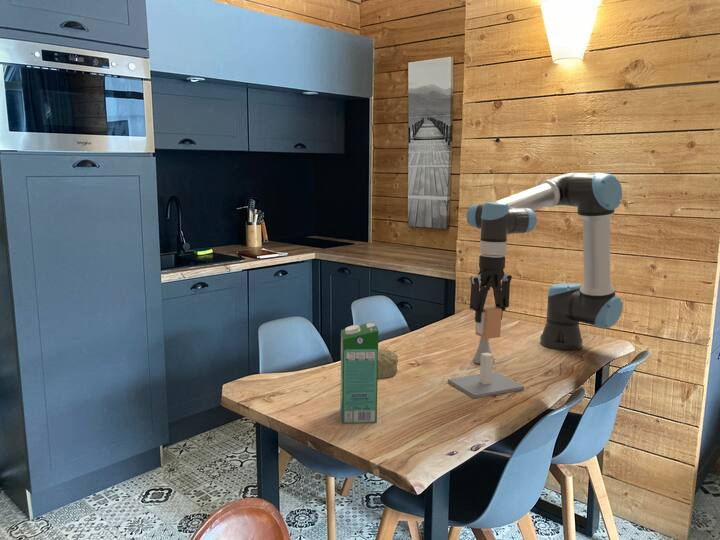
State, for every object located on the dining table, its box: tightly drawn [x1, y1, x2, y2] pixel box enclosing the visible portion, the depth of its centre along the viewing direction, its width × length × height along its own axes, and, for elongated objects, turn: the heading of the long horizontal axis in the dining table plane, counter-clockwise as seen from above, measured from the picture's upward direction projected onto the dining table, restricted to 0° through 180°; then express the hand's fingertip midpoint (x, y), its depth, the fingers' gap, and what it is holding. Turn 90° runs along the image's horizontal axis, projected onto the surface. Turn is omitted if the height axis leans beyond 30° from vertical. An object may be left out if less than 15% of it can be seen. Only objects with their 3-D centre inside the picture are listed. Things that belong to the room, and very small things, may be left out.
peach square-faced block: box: [474, 304, 503, 340], centre depth 182 cm, size 5×5×9 cm
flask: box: [472, 336, 495, 365], centre depth 207 cm, size 7×7×10 cm
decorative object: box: [378, 348, 399, 379], centre depth 195 cm, size 9×10×10 cm
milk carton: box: [339, 321, 379, 424], centre depth 160 cm, size 9×9×25 cm
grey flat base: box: [447, 353, 525, 399], centre depth 185 cm, size 18×14×10 cm
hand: (487, 331), depth 182 cm, fingers closed on peach square-faced block, 5 cm apart
